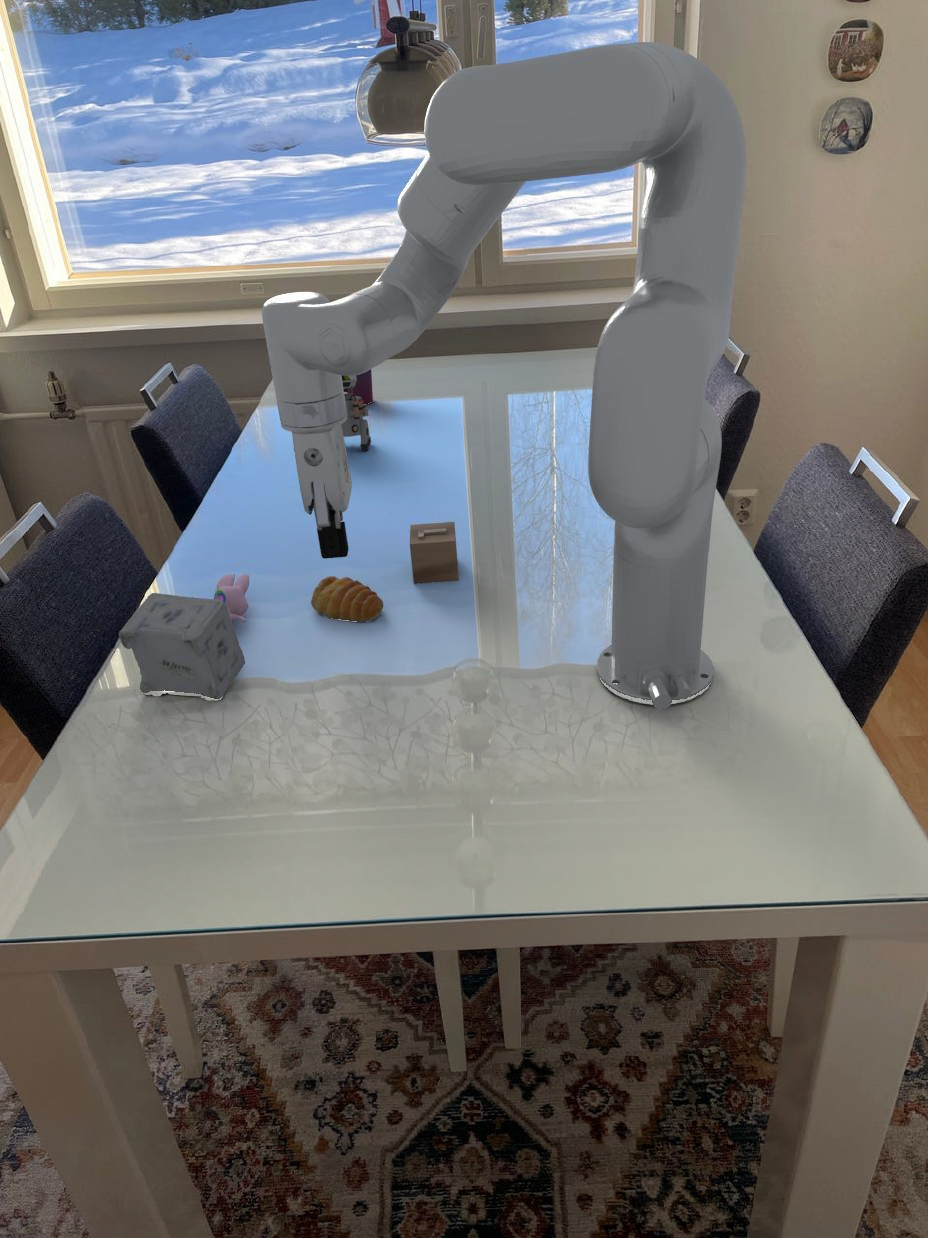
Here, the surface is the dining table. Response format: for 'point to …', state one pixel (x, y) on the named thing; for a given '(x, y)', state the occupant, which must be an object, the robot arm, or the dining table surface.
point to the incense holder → (184, 645)
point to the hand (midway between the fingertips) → (335, 554)
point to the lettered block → (433, 552)
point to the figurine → (355, 414)
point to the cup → (363, 387)
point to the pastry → (346, 600)
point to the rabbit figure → (233, 595)
